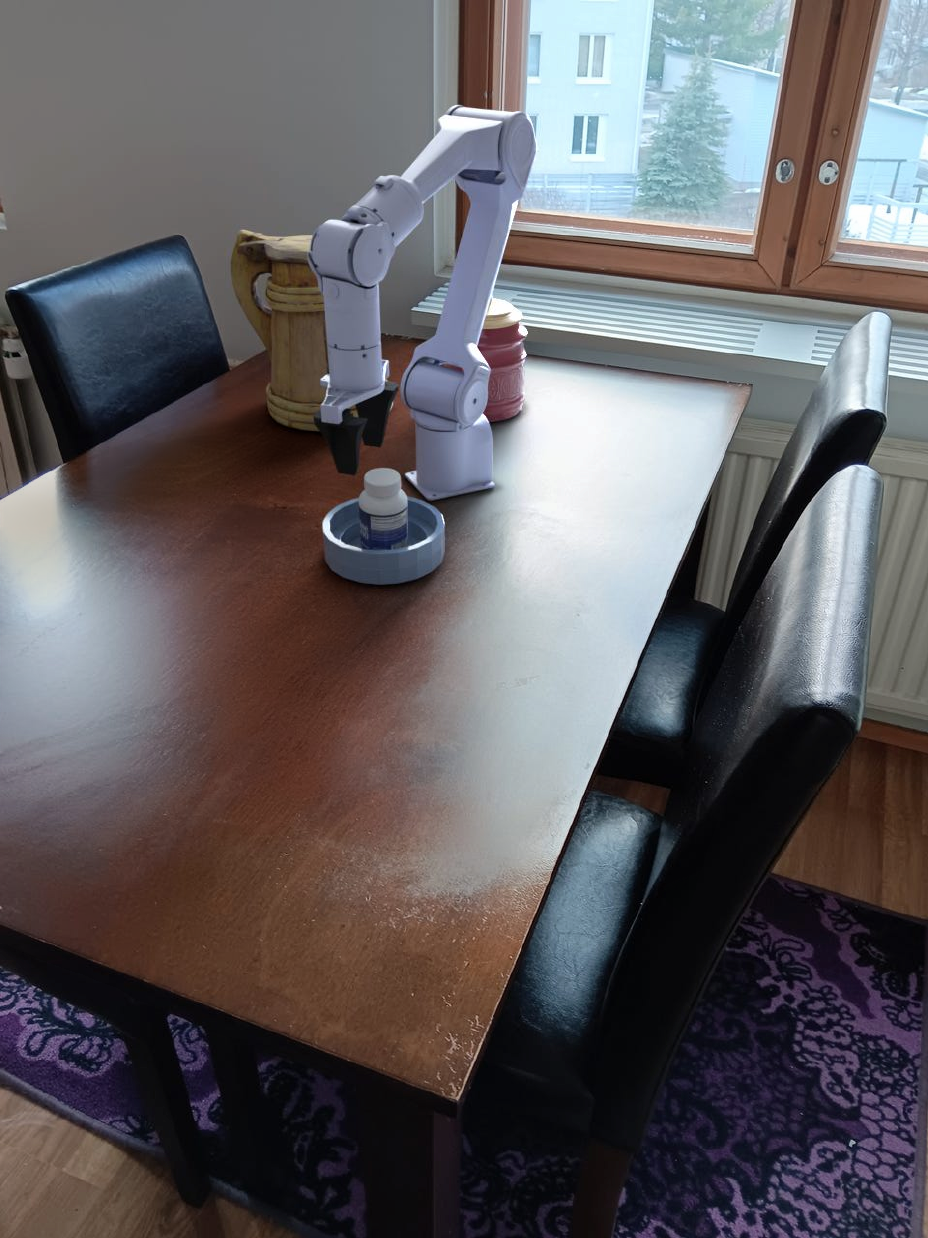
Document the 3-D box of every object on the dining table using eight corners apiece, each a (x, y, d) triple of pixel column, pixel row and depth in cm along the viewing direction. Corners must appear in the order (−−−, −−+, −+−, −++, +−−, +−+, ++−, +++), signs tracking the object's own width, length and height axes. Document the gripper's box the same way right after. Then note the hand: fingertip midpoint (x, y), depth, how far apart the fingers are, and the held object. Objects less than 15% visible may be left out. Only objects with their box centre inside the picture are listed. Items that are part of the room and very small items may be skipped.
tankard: (369, 441, 137) (360, 259, 123) (218, 422, 142) (192, 245, 128) (408, 394, 152) (403, 226, 138) (269, 379, 157) (251, 215, 142)
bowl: (415, 519, 119) (414, 485, 116) (464, 572, 109) (464, 537, 106) (309, 542, 114) (306, 508, 111) (349, 600, 104) (347, 564, 101)
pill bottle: (360, 539, 113) (357, 464, 107) (407, 538, 113) (406, 463, 107) (360, 565, 108) (357, 489, 102) (408, 564, 109) (408, 488, 103)
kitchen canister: (471, 385, 155) (472, 272, 145) (540, 403, 149) (546, 287, 139) (421, 410, 147) (419, 292, 137) (492, 431, 140) (495, 309, 130)
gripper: (346, 317, 110) (353, 429, 117) (289, 359, 98) (301, 480, 106) (404, 323, 108) (407, 437, 116) (353, 367, 96) (361, 490, 104)
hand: (360, 458), depth 111 cm, fingers open, 7 cm apart
